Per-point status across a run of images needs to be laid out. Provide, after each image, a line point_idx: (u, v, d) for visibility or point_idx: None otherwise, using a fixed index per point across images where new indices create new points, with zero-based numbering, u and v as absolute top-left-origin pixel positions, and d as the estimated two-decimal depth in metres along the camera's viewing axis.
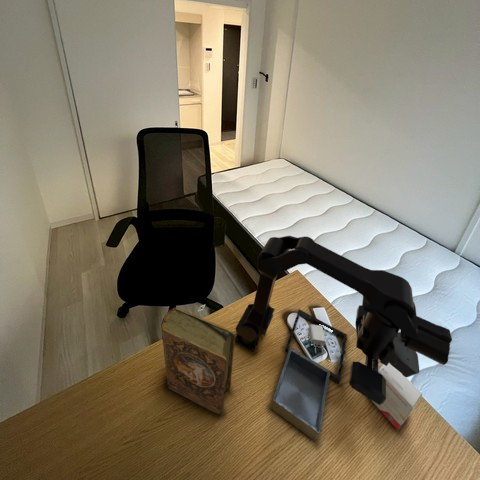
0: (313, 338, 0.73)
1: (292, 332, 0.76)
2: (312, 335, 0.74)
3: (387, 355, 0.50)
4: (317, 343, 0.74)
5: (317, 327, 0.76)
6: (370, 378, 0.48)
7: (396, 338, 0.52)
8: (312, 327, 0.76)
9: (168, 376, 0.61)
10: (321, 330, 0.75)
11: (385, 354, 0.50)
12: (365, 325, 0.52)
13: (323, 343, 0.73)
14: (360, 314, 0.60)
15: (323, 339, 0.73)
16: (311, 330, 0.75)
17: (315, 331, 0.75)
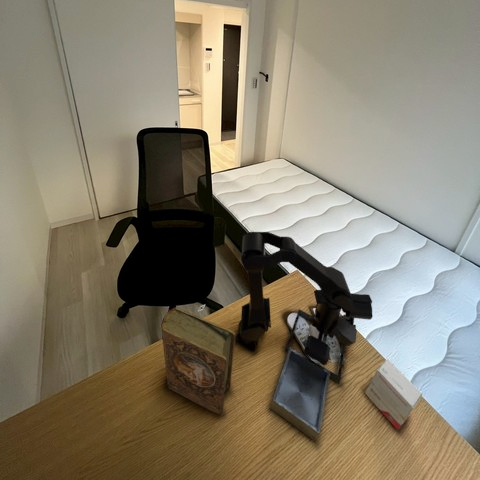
0: None
1: (292, 332, 0.76)
2: (312, 335, 0.74)
3: (333, 330, 0.66)
4: None
5: None
6: (318, 346, 0.65)
7: (341, 318, 0.69)
8: (312, 327, 0.76)
9: (168, 376, 0.61)
10: None
11: (331, 329, 0.67)
12: (317, 308, 0.69)
13: None
14: None
15: None
16: (311, 330, 0.75)
17: (315, 331, 0.75)
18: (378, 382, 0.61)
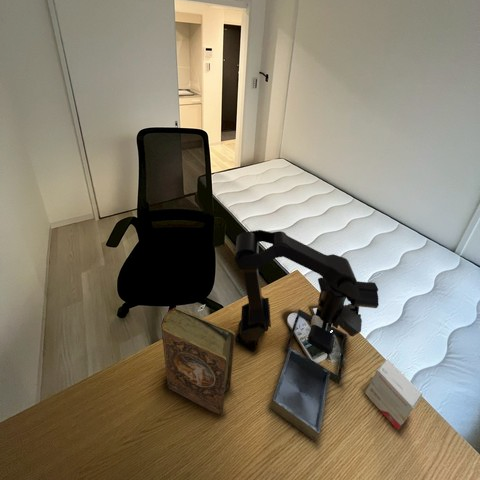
0: None
1: (292, 332, 0.76)
2: None
3: (337, 319, 0.64)
4: None
5: None
6: (322, 336, 0.63)
7: (346, 307, 0.67)
8: (315, 318, 0.74)
9: (168, 376, 0.61)
10: None
11: (336, 319, 0.65)
12: (321, 297, 0.66)
13: None
14: (322, 291, 0.75)
15: None
16: (314, 321, 0.73)
17: (318, 322, 0.73)
18: (378, 382, 0.61)
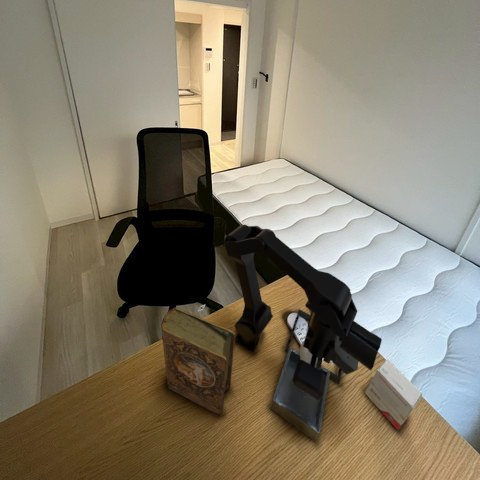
0: (305, 361, 0.59)
1: (292, 332, 0.76)
2: (304, 357, 0.60)
3: (329, 354, 0.53)
4: None
5: None
6: (310, 375, 0.51)
7: (340, 337, 0.56)
8: None
9: (168, 376, 0.61)
10: None
11: (327, 353, 0.53)
12: (310, 325, 0.55)
13: None
14: (312, 315, 0.63)
15: None
16: (303, 350, 0.62)
17: (308, 352, 0.61)
18: (378, 382, 0.61)
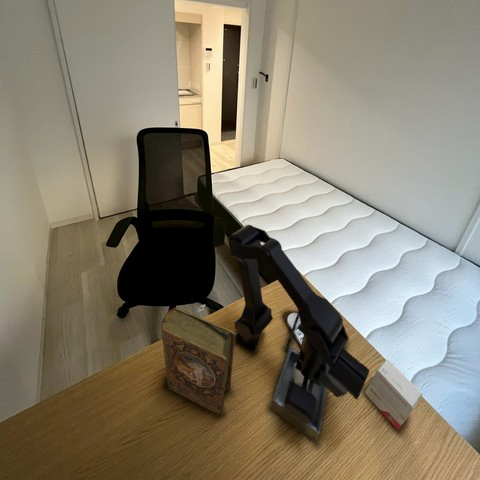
0: (298, 381, 0.61)
1: (292, 332, 0.76)
2: (297, 377, 0.62)
3: (320, 377, 0.54)
4: None
5: None
6: (301, 398, 0.52)
7: None
8: None
9: (168, 376, 0.61)
10: None
11: (318, 376, 0.55)
12: (302, 348, 0.56)
13: None
14: None
15: None
16: (296, 370, 0.63)
17: None
18: (378, 382, 0.61)
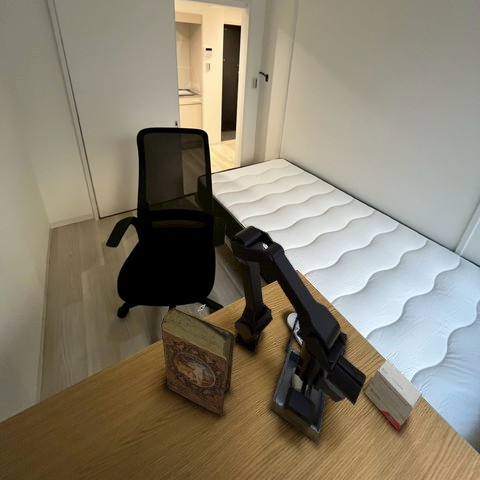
0: (296, 387, 0.62)
1: (292, 332, 0.76)
2: (295, 382, 0.63)
3: (318, 382, 0.55)
4: None
5: None
6: (300, 404, 0.53)
7: None
8: None
9: (168, 376, 0.61)
10: None
11: (317, 381, 0.55)
12: (300, 354, 0.57)
13: None
14: (304, 340, 0.65)
15: None
16: (294, 376, 0.64)
17: None
18: (378, 382, 0.61)
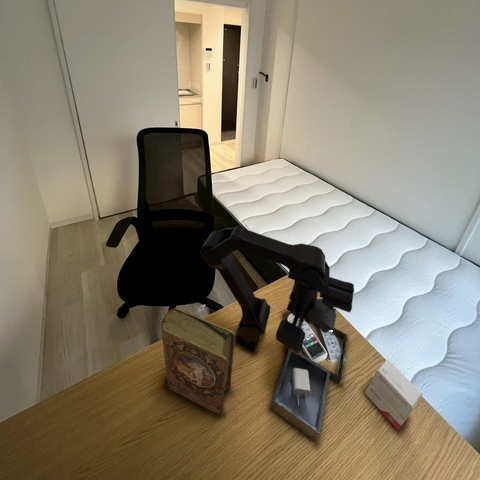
0: (296, 387, 0.62)
1: None
2: (295, 382, 0.63)
3: (308, 314, 0.59)
4: (301, 392, 0.62)
5: (301, 372, 0.65)
6: (291, 331, 0.57)
7: (319, 301, 0.62)
8: (296, 372, 0.65)
9: (168, 376, 0.61)
10: (306, 376, 0.64)
11: (307, 313, 0.59)
12: (292, 290, 0.61)
13: (308, 393, 0.62)
14: None
15: (308, 388, 0.62)
16: (294, 376, 0.64)
17: (299, 377, 0.64)
18: (378, 382, 0.61)
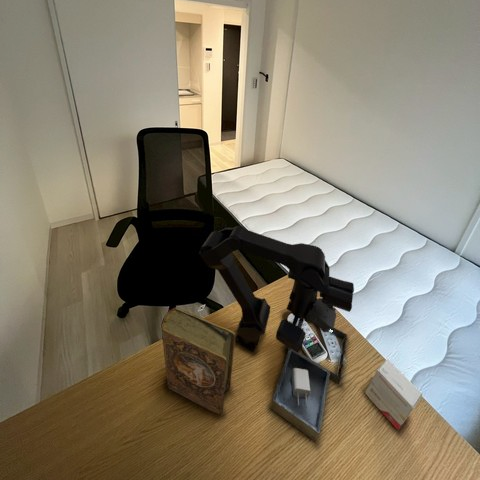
0: (296, 387, 0.62)
1: None
2: (295, 382, 0.63)
3: (309, 314, 0.59)
4: (301, 392, 0.62)
5: (301, 372, 0.65)
6: (291, 331, 0.57)
7: (319, 301, 0.62)
8: (296, 372, 0.65)
9: (168, 376, 0.61)
10: (306, 376, 0.64)
11: (307, 313, 0.59)
12: (292, 289, 0.61)
13: (308, 393, 0.62)
14: None
15: (308, 388, 0.62)
16: (294, 376, 0.64)
17: (299, 377, 0.64)
18: (378, 382, 0.61)
